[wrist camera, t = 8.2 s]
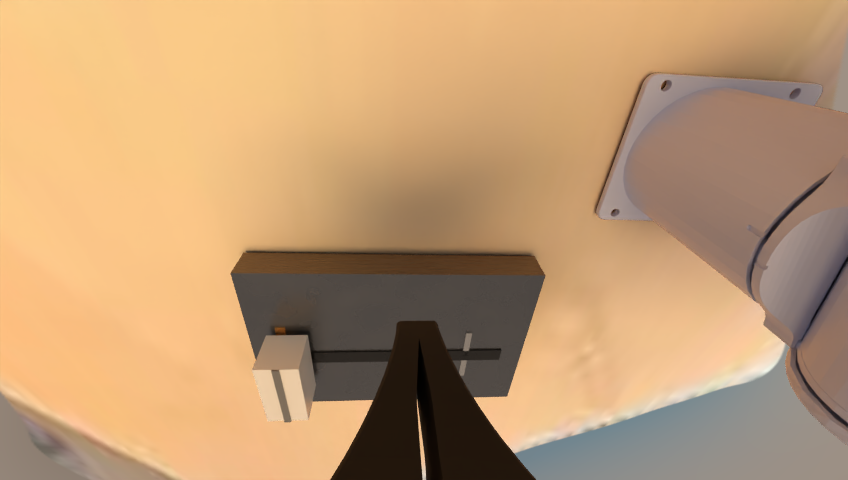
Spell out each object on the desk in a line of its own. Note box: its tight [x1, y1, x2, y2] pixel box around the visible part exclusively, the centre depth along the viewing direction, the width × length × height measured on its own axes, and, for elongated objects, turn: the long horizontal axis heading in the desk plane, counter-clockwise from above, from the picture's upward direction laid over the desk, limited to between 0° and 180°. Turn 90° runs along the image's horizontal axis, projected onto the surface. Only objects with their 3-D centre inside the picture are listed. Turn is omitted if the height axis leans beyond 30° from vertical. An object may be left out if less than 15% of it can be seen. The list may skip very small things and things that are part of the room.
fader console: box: [231, 253, 545, 401], centre depth 24 cm, size 18×12×2 cm, turn 86°
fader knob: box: [252, 335, 316, 422], centre depth 22 cm, size 2×5×3 cm, turn 176°
